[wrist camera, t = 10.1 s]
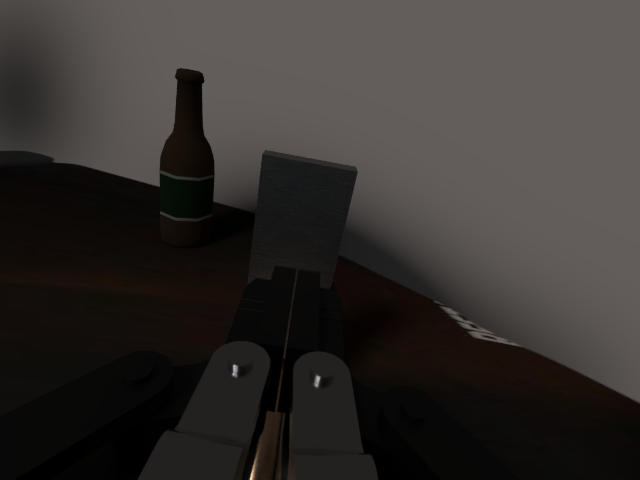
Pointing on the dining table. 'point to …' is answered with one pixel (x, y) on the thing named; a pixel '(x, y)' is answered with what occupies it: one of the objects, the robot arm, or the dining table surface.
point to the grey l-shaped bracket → (300, 216)
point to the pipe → (269, 443)
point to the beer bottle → (187, 170)
